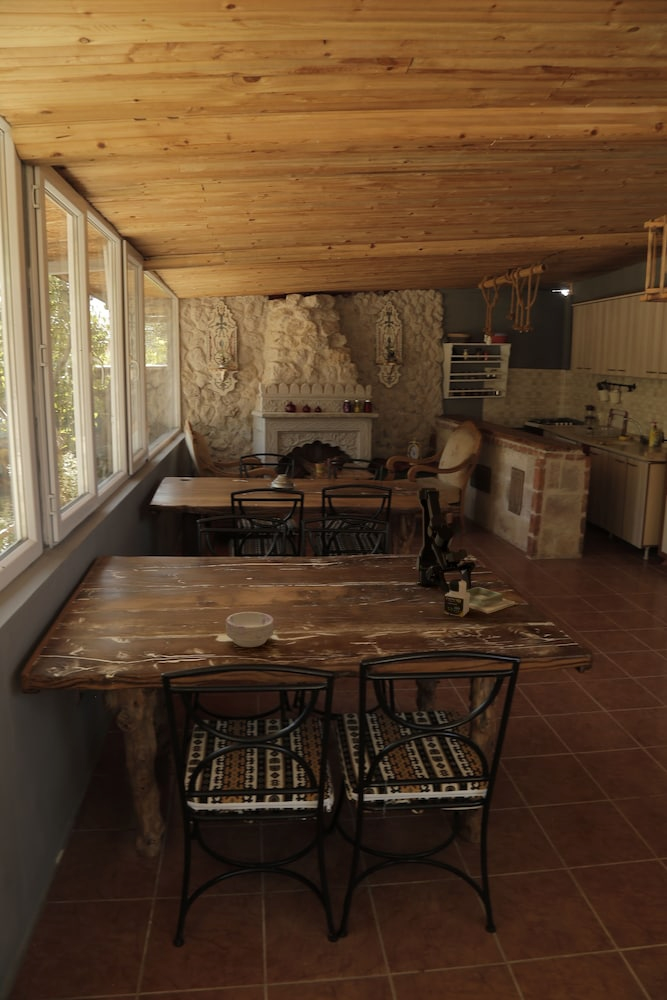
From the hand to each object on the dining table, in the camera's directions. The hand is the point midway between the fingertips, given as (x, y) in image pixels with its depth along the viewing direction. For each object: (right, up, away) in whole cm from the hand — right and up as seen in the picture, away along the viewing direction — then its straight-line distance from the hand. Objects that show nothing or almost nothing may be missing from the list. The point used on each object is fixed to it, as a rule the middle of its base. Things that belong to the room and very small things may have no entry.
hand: (459, 590), depth 272 cm
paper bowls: (-72, -13, -28) cm, 78 cm away
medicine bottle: (-1, -8, +3) cm, 9 cm away
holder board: (+10, -6, +15) cm, 19 cm away
